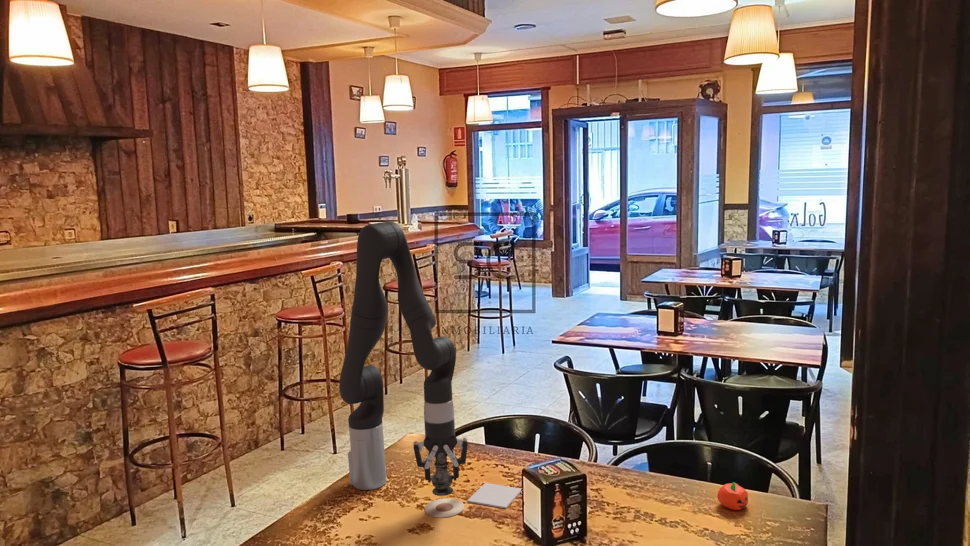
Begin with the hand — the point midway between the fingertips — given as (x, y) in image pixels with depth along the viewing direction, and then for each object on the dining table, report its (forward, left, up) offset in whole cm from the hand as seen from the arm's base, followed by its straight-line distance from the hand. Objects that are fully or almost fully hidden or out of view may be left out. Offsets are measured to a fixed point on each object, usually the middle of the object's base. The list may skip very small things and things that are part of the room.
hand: (442, 480), depth 171 cm
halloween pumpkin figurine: (+67, +25, -8) cm, 72 cm away
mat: (+10, +10, -7) cm, 16 cm away
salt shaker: (0, 0, -3) cm, 3 cm away
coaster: (0, 0, -7) cm, 7 cm away
